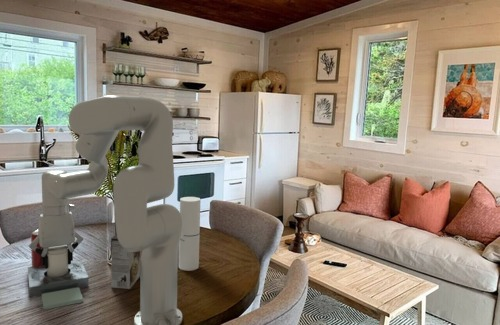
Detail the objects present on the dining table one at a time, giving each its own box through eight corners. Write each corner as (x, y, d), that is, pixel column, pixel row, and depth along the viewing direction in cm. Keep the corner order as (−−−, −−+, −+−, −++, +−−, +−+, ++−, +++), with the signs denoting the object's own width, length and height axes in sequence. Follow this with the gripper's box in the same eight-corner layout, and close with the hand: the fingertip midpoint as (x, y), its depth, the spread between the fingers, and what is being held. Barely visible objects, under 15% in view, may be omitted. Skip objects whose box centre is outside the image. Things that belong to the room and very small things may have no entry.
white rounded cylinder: (70, 279, 122) (69, 249, 121) (48, 284, 119) (48, 253, 117) (66, 273, 127) (65, 244, 126) (46, 277, 124) (45, 247, 122)
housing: (88, 286, 120) (88, 277, 120) (29, 297, 112) (29, 287, 112) (80, 267, 134) (80, 259, 134) (28, 276, 126) (27, 267, 125)
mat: (82, 301, 111) (82, 298, 111) (43, 309, 106) (43, 306, 106) (78, 290, 118) (78, 287, 117) (41, 297, 112) (41, 293, 112)
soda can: (29, 269, 130) (28, 235, 129) (34, 261, 137) (34, 229, 136) (52, 268, 132) (51, 234, 131) (57, 260, 139) (56, 228, 138)
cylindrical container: (194, 271, 135) (196, 202, 132) (175, 269, 136) (176, 200, 133) (201, 264, 142) (203, 197, 139) (183, 261, 143) (184, 196, 140)
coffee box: (121, 275, 129) (121, 229, 127) (140, 276, 129) (140, 230, 127) (110, 287, 120) (110, 238, 118) (130, 289, 120) (130, 239, 118)
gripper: (83, 204, 128) (84, 256, 130) (23, 210, 118) (25, 266, 120) (88, 209, 122) (89, 264, 124) (25, 216, 112) (27, 275, 114)
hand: (57, 264), depth 122 cm, fingers closed on white rounded cylinder, 6 cm apart
